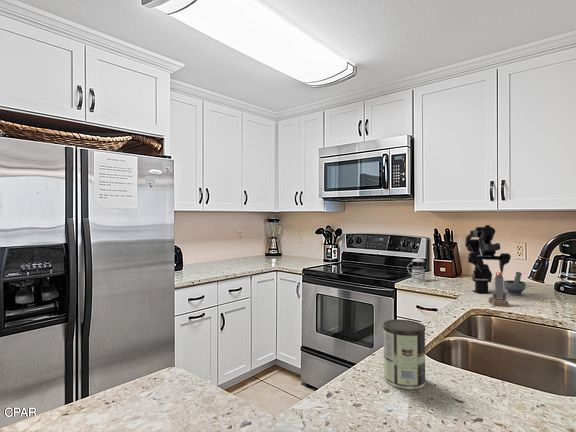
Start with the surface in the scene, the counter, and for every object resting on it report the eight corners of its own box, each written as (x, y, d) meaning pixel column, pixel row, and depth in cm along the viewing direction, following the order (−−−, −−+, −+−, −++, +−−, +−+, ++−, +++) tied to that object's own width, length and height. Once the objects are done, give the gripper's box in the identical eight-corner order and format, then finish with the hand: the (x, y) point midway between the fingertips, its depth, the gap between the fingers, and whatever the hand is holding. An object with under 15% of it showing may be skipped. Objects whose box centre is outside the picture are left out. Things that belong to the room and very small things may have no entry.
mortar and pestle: (520, 297, 181) (520, 274, 182) (501, 294, 189) (500, 272, 189) (529, 295, 188) (529, 272, 188) (510, 292, 195) (510, 270, 196)
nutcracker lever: (494, 297, 167) (494, 272, 168) (501, 297, 167) (501, 272, 167) (496, 298, 165) (496, 273, 165) (503, 298, 164) (503, 273, 164)
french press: (425, 283, 221) (425, 244, 221) (406, 282, 226) (406, 243, 226) (427, 281, 230) (426, 243, 230) (408, 279, 235) (408, 242, 235)
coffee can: (408, 369, 96) (408, 317, 96) (434, 386, 86) (434, 328, 86) (375, 374, 93) (375, 320, 93) (398, 392, 83) (398, 332, 83)
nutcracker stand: (488, 302, 172) (488, 290, 172) (502, 302, 170) (502, 291, 170) (494, 306, 164) (493, 294, 164) (508, 306, 163) (508, 294, 163)
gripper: (469, 237, 181) (473, 262, 171) (510, 237, 176) (517, 263, 166) (465, 249, 189) (470, 274, 180) (504, 250, 184) (511, 276, 174)
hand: (491, 272), depth 175 cm, fingers open, 9 cm apart
